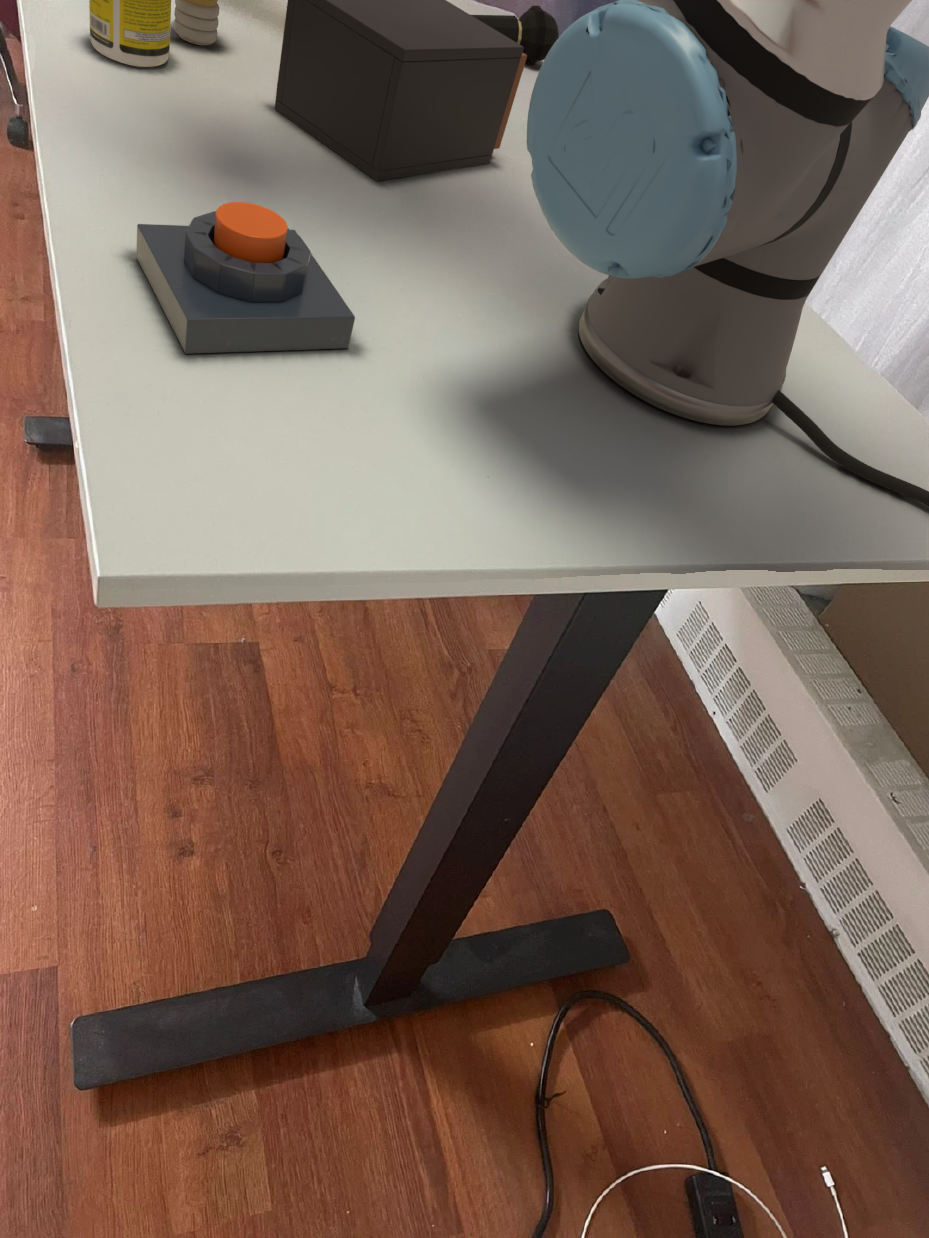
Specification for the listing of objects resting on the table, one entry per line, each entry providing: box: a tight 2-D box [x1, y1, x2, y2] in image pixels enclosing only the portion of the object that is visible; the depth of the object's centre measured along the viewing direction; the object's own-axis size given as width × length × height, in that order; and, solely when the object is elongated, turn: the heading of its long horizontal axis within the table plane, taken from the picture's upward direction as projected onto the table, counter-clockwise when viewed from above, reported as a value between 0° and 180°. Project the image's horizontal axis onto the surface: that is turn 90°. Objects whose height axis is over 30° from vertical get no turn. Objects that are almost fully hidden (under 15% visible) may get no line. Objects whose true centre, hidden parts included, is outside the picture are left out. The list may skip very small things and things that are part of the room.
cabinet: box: [274, 0, 524, 182], centre depth 75 cm, size 15×13×10 cm
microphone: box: [470, 5, 560, 66], centre depth 102 cm, size 6×6×20 cm
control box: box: [135, 210, 356, 355], centre depth 54 cm, size 10×10×4 cm
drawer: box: [494, 53, 527, 150], centre depth 77 cm, size 15×11×8 cm
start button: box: [214, 201, 289, 263], centre depth 52 cm, size 4×4×2 cm
